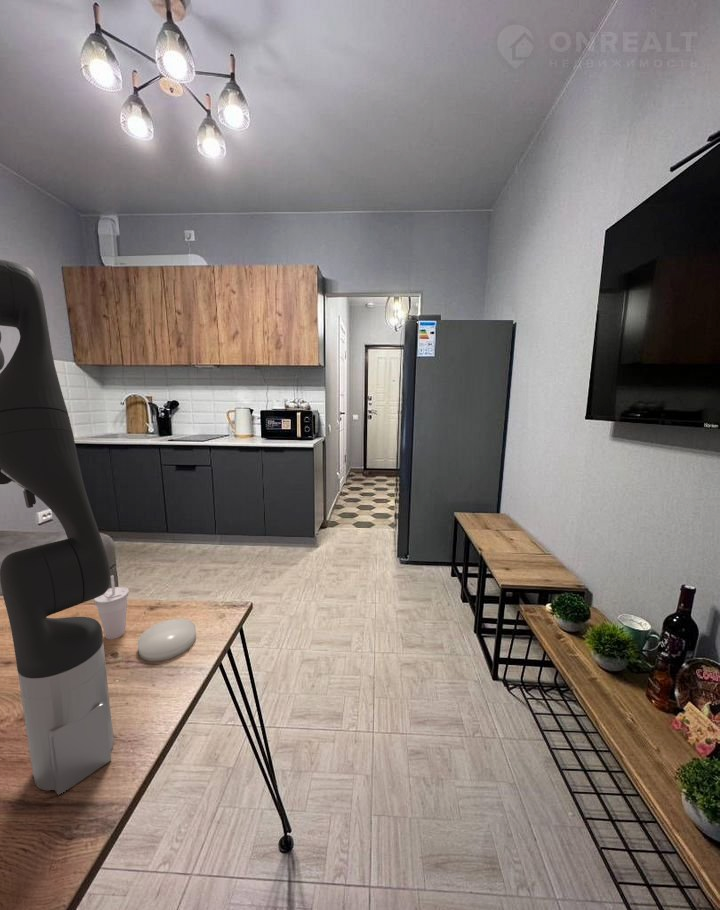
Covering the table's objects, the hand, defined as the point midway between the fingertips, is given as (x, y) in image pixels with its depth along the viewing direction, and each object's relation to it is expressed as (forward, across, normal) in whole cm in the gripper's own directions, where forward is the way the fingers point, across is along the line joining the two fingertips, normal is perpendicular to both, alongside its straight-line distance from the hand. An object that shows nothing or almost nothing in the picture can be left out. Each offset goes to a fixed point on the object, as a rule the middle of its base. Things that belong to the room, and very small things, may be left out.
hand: (3, 512), depth 75 cm
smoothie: (+30, +11, -15) cm, 35 cm away
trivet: (+31, +16, -27) cm, 44 cm away
